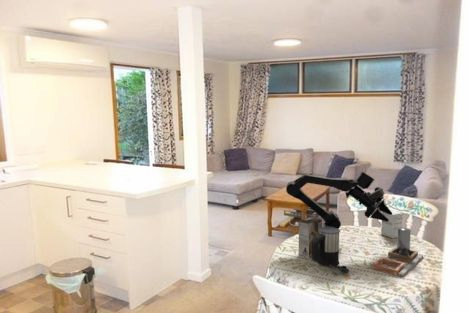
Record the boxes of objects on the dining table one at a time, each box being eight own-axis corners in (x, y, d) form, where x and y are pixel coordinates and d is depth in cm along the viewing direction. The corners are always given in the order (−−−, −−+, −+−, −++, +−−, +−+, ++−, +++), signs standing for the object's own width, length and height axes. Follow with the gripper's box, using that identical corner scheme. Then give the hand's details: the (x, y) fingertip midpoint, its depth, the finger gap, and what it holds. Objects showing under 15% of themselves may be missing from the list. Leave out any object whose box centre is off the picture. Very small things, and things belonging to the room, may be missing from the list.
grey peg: (400, 258, 161) (402, 231, 159) (394, 254, 166) (395, 227, 165) (411, 258, 162) (413, 230, 160) (405, 253, 167) (406, 227, 165)
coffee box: (310, 249, 173) (311, 216, 171) (321, 253, 168) (322, 219, 166) (297, 254, 167) (298, 219, 166) (309, 258, 163) (309, 223, 161)
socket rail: (402, 277, 143) (402, 272, 143) (372, 268, 151) (372, 264, 151) (423, 257, 162) (423, 252, 162) (395, 250, 170) (395, 246, 170)
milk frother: (323, 256, 164) (324, 224, 162) (357, 265, 154) (359, 231, 152) (308, 267, 153) (308, 233, 151) (344, 277, 143) (345, 241, 141)
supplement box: (380, 234, 193) (381, 211, 192) (390, 232, 196) (391, 209, 195) (391, 238, 187) (392, 214, 185) (402, 236, 190) (403, 212, 188)
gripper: (366, 189, 164) (397, 211, 159) (375, 178, 179) (404, 198, 174) (352, 207, 169) (382, 229, 164) (362, 195, 184) (389, 215, 179)
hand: (390, 217), depth 170 cm, fingers open, 9 cm apart
